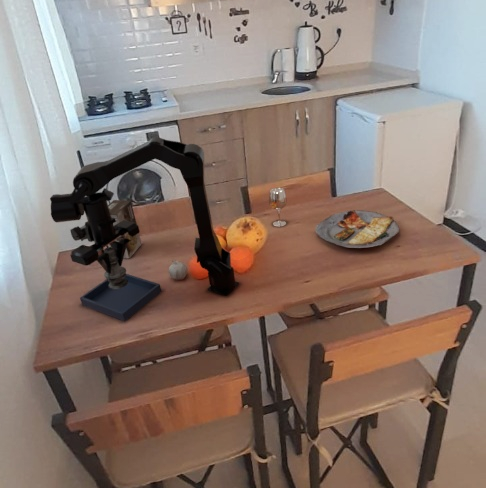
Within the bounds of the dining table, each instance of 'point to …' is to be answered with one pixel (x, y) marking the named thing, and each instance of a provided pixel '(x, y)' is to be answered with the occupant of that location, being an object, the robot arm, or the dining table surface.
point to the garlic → (178, 270)
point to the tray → (121, 297)
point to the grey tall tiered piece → (115, 271)
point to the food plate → (357, 229)
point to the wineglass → (278, 203)
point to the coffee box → (125, 212)
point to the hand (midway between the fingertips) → (114, 269)
